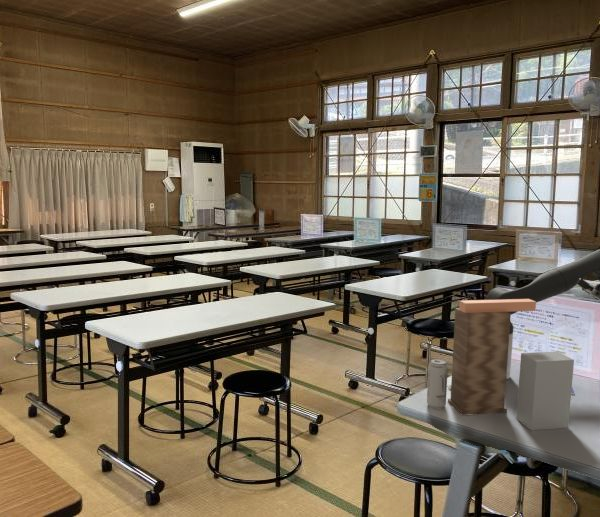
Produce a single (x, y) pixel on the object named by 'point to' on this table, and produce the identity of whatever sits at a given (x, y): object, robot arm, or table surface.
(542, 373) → the gray rectangular block
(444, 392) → the energy drink can
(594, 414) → the table surface
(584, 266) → the robot arm
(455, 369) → the pedestal
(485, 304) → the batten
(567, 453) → the table surface
